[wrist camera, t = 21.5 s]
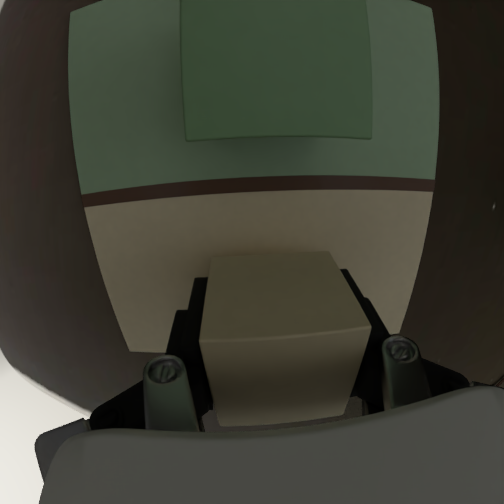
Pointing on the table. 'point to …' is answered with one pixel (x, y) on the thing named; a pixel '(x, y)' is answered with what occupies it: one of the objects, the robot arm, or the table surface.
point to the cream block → (280, 338)
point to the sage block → (275, 69)
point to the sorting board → (244, 169)
